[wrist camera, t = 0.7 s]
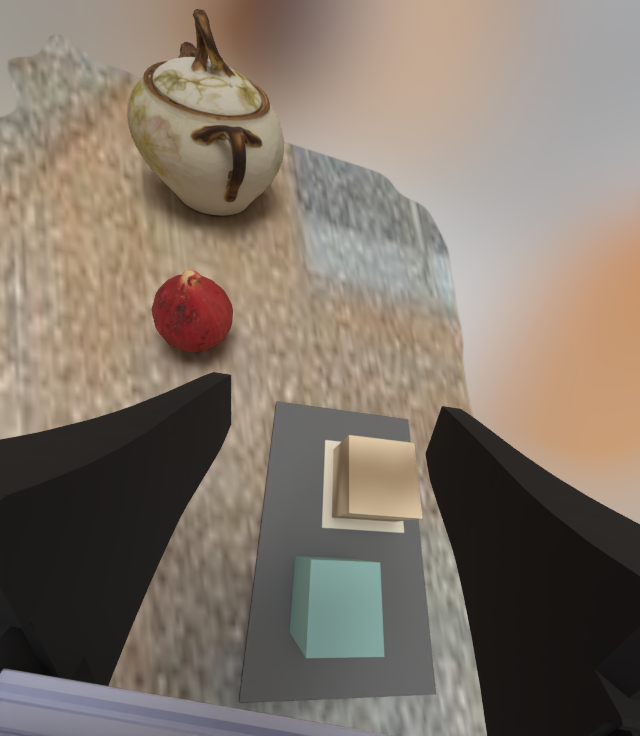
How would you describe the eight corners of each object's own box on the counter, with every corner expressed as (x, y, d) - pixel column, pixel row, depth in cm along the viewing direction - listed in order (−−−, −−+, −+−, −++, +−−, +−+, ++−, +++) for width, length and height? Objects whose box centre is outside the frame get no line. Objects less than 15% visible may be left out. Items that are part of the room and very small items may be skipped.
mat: (431, 691, 20) (436, 694, 19) (239, 698, 17) (239, 703, 17) (405, 421, 29) (408, 419, 28) (276, 403, 26) (276, 401, 26)
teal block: (351, 632, 20) (384, 656, 15) (289, 632, 19) (305, 658, 15) (351, 558, 22) (380, 562, 17) (295, 555, 21) (311, 559, 17)
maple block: (395, 521, 24) (422, 518, 20) (331, 517, 23) (349, 513, 19) (390, 455, 26) (414, 442, 23) (333, 449, 25) (349, 435, 22)
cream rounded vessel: (131, 143, 38) (80, -57, 25) (249, 147, 44) (257, -13, 31) (164, 258, 31) (116, 60, 18) (300, 245, 37) (337, 88, 24)
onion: (213, 378, 26) (207, 321, 19) (148, 353, 26) (118, 286, 19) (242, 328, 29) (246, 263, 22) (184, 305, 29) (170, 232, 22)
